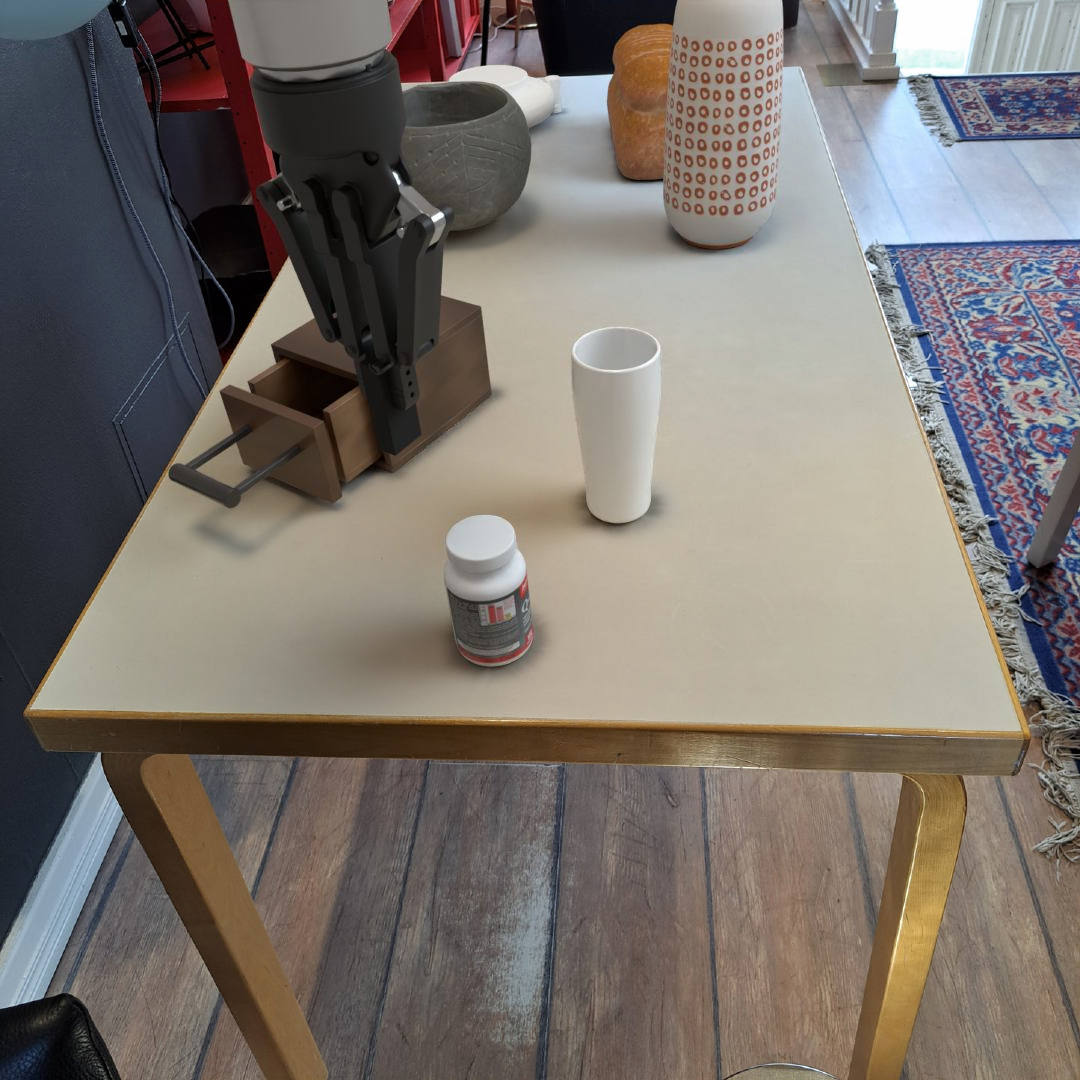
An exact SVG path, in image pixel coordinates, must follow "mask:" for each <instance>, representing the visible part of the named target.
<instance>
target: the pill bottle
mask: <svg viewBox="0 0 1080 1080" xmlns="http://www.w3.org/2000/svg"><path fill="white" fill-rule="evenodd" d="M445 549H446V556H447V560H446V562H445V564H444V568H443V581H444V587H445V593H446V597H447V602H448V608H449V613H450V620H451V624H452V625H451V626H452V631H453V635H454V640H455V644H456V647H457V650H458V651H459V653H460V654H461V655H462V656H463V658H465V659H466V660H468V661H469V662H471V663H473V664H476V665H478V666H481V667H482V666H483V667H499V666H505V665H508V664H511V663H513V662H516V661H517V660H518V659H520V658H522V656H523V655H525V654H526V652H527V651H528V650H529V649H530V647H531V645H532V642H533V639H534V623H533V615H532V614H533V613H532V607H531V598H530V589H529V579H528V570H527V569H528V568H527V565H526V561H525V558H524V556H523V554H522V553H521V551H520V550H519V549H518V542H517V538H516V531H515V529H514V527H513V525H512V524H511V523H510V522H509V521H508V520H506V519H505V518H503V517H500V516H499V515H498V516H497V515H494V514H476V515H471V516H468V517H466V518H463V519H461V520H459V521H458V522H456V523H455V524H454V525H452V527H451V528H449V530H448V532H447V533H446V536H445Z"/></svg>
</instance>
